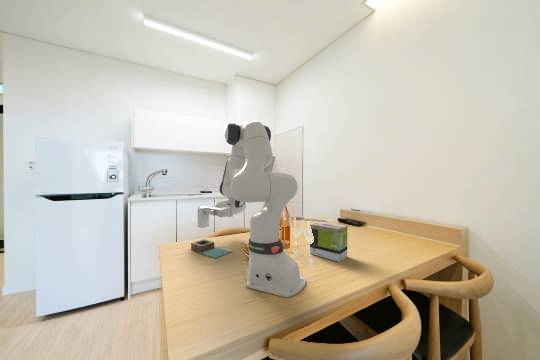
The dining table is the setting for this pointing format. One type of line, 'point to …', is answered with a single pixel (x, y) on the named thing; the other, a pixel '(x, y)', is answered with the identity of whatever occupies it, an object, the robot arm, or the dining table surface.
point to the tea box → (329, 241)
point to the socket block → (202, 245)
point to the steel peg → (203, 217)
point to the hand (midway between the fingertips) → (201, 212)
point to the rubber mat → (216, 252)
